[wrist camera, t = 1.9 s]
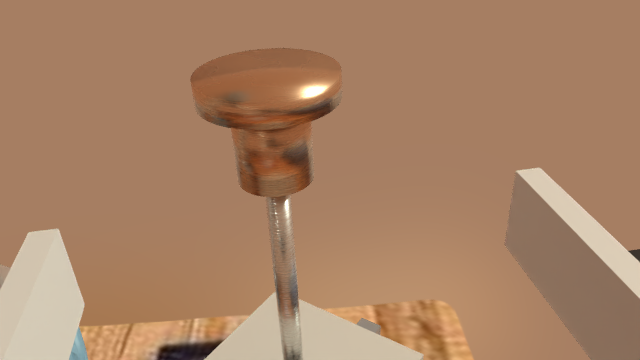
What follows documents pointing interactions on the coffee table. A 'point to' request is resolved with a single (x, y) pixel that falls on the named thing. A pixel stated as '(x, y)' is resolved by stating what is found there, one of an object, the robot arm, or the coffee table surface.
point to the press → (310, 338)
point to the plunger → (272, 143)
